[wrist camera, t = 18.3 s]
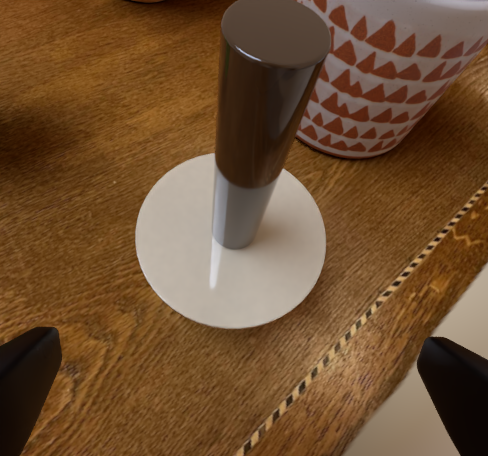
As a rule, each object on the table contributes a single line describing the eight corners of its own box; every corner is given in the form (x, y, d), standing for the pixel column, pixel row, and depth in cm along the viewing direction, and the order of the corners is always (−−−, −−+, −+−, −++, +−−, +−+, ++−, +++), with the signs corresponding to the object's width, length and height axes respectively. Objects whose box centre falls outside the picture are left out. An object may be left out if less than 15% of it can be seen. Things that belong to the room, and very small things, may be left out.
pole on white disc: (262, 375, 14) (420, 406, 4) (94, 252, 15) (-127, 30, 5) (351, 216, 18) (541, 24, 8) (212, 131, 19) (220, -124, 9)
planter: (431, 148, 28) (587, 0, 17) (298, 173, 25) (378, 12, 14) (368, 51, 33) (455, -115, 22) (251, 62, 30) (280, -124, 19)
